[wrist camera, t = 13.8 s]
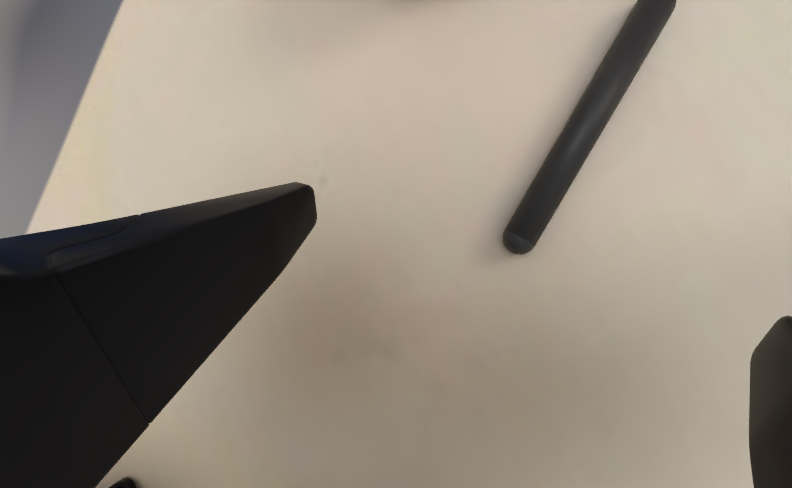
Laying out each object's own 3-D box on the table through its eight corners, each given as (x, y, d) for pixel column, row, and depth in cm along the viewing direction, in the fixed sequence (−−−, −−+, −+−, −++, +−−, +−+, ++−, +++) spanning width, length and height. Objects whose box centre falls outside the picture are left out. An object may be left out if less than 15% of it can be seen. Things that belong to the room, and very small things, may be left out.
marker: (511, -6, 16) (498, 251, 17) (520, -24, 15) (506, 255, 16) (663, -4, 16) (643, 256, 17) (685, -22, 15) (662, 260, 16)
